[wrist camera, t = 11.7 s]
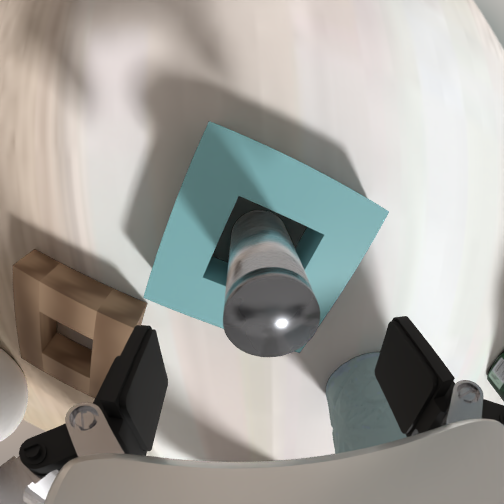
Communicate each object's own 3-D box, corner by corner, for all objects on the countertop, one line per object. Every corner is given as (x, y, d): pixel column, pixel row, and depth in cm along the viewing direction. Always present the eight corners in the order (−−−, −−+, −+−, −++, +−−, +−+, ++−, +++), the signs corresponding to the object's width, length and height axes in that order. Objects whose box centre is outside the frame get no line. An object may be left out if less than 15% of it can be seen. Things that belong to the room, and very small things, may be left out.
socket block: (367, 198, 20) (389, 211, 17) (292, 325, 24) (299, 352, 21) (215, 123, 18) (209, 121, 14) (156, 274, 22) (143, 297, 18)
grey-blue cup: (363, 411, 30) (389, 489, 19) (298, 398, 28) (315, 495, 17) (418, 356, 27) (466, 436, 16) (357, 332, 25) (406, 438, 14)
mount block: (147, 303, 23) (134, 328, 19) (125, 384, 27) (117, 407, 24) (34, 249, 20) (12, 265, 17) (35, 338, 24) (21, 357, 21)
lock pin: (296, 223, 20) (338, 299, 11) (271, 270, 22) (290, 365, 13) (245, 201, 20) (247, 263, 10) (222, 250, 21) (208, 340, 12)
